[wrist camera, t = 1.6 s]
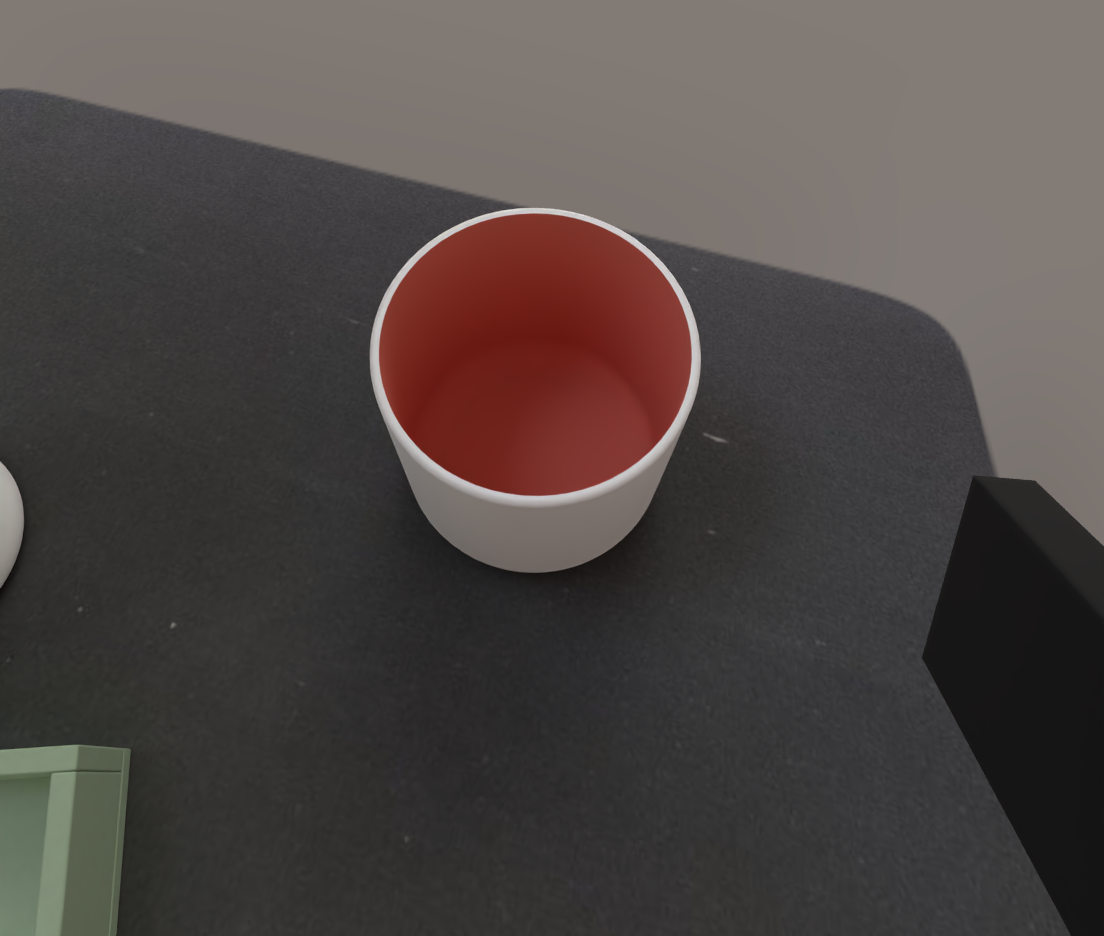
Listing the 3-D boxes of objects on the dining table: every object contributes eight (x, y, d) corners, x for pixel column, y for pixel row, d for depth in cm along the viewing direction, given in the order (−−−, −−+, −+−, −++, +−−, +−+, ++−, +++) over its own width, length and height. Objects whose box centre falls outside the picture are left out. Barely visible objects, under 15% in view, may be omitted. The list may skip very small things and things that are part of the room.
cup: (674, 566, 35) (727, 488, 26) (417, 593, 35) (376, 522, 25) (639, 337, 39) (674, 193, 29) (403, 358, 38) (361, 218, 29)
